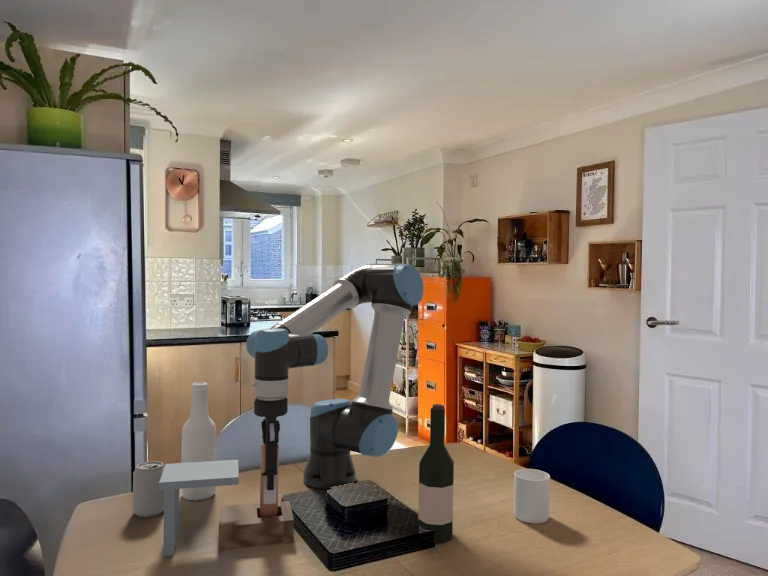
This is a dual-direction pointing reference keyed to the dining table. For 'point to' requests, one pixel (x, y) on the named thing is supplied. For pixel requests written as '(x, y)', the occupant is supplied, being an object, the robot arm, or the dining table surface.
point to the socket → (254, 526)
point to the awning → (190, 477)
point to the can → (148, 489)
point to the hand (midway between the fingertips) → (269, 498)
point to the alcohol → (199, 439)
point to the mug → (531, 495)
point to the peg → (265, 509)
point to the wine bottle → (436, 482)
